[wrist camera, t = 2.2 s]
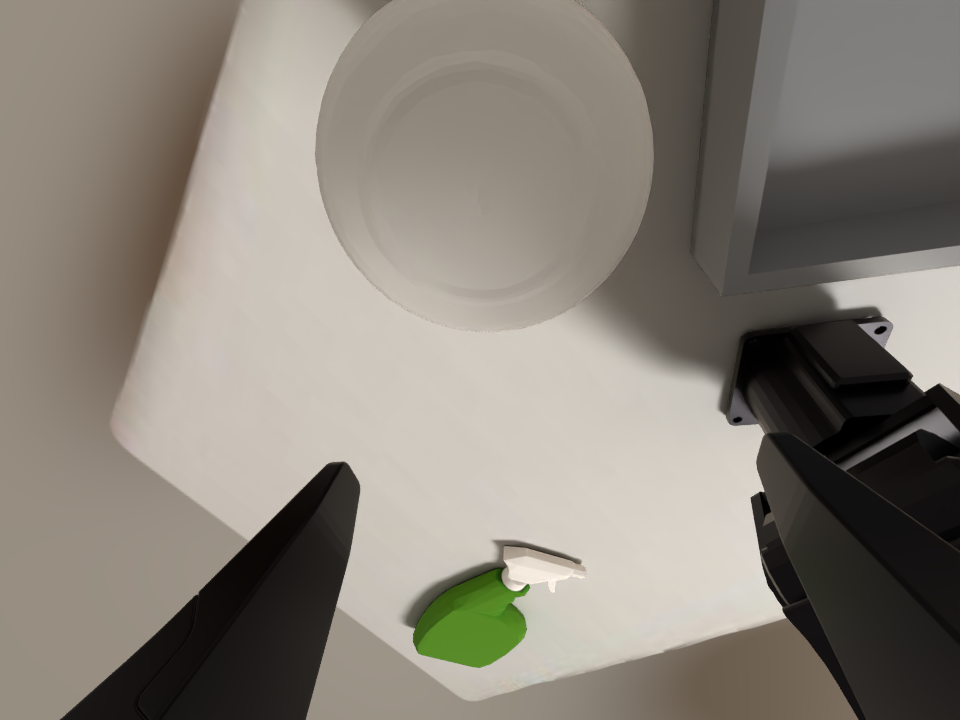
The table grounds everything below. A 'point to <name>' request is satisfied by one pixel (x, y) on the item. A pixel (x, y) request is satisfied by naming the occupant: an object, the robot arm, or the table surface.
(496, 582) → the spray bottle
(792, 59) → the tote
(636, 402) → the table surface
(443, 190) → the sprinkles bottle
